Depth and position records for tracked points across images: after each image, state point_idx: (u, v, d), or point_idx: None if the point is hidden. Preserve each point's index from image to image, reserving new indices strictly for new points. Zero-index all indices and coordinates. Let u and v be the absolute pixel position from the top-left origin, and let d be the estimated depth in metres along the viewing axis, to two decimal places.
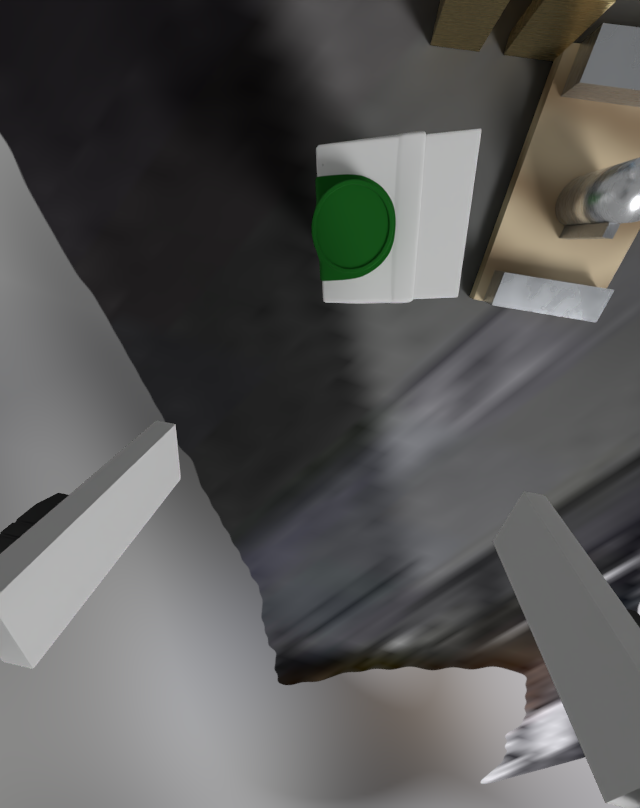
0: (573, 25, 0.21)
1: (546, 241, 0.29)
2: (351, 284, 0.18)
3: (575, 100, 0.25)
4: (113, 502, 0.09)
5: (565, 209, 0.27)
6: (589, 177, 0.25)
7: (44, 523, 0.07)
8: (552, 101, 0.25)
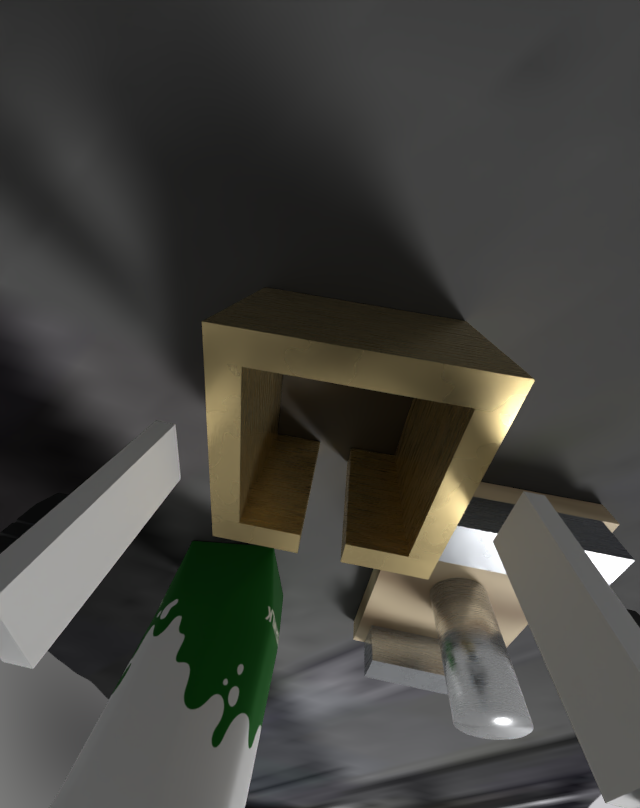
0: None
1: (425, 614, 0.25)
2: None
3: None
4: (114, 502, 0.09)
5: None
6: (450, 626, 0.20)
7: (44, 523, 0.07)
8: None
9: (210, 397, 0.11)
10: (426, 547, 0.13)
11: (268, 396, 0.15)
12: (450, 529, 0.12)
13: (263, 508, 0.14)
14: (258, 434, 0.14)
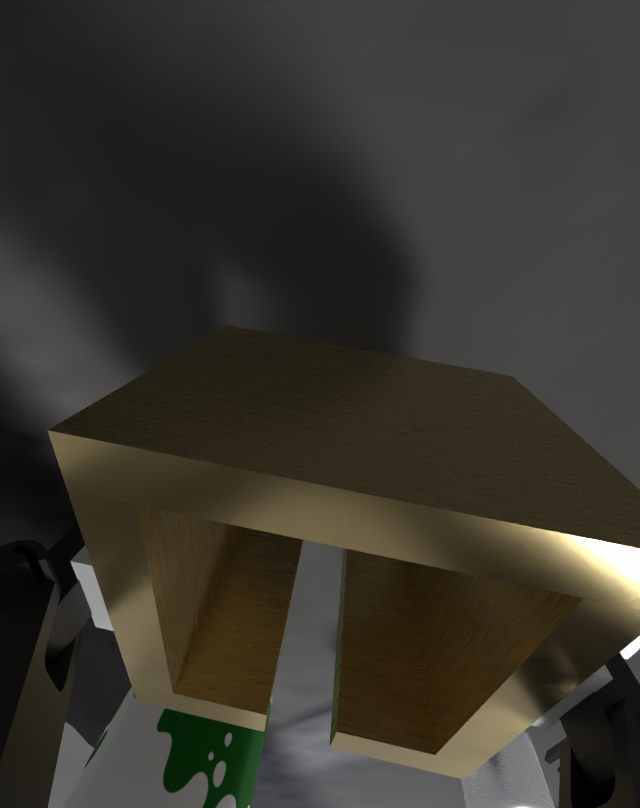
0: None
1: None
2: None
3: None
4: None
5: None
6: None
7: None
8: None
9: (92, 544, 0.06)
10: (465, 749, 0.08)
11: None
12: (508, 736, 0.07)
13: (215, 656, 0.10)
14: (207, 547, 0.09)
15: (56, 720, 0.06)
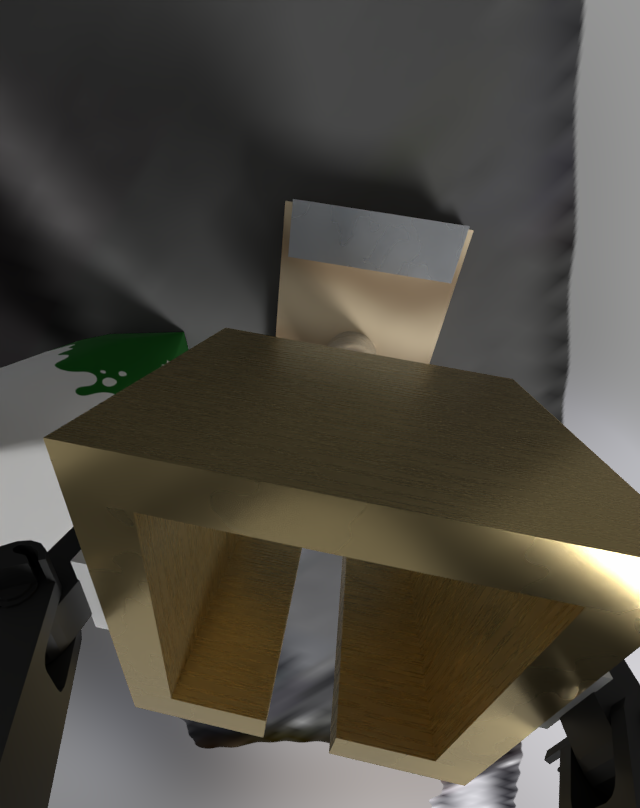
0: None
1: None
2: None
3: None
4: None
5: None
6: None
7: None
8: (288, 259, 0.21)
9: (89, 551, 0.06)
10: (466, 756, 0.08)
11: None
12: (509, 743, 0.07)
13: (214, 661, 0.10)
14: (206, 552, 0.09)
15: (56, 720, 0.06)
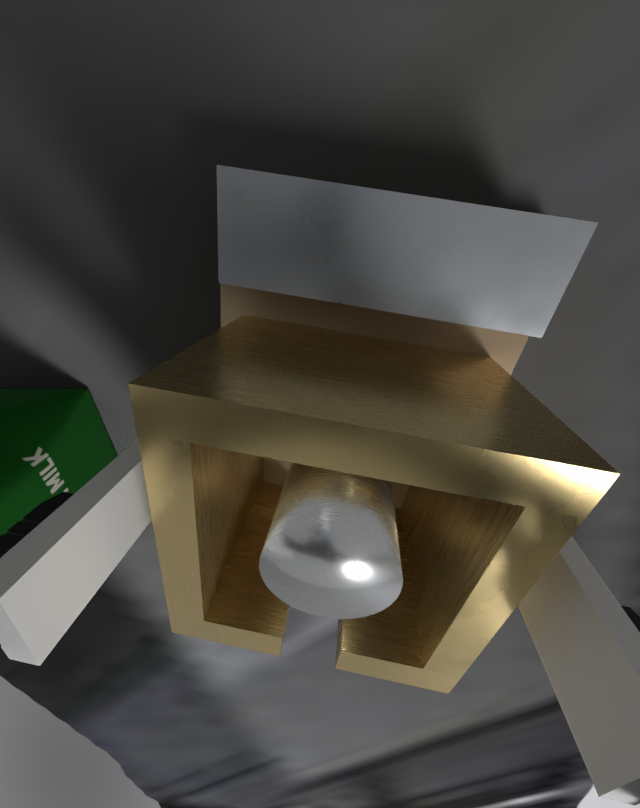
0: None
1: None
2: None
3: None
4: (118, 500, 0.09)
5: None
6: None
7: (50, 521, 0.07)
8: None
9: (151, 479, 0.08)
10: (447, 660, 0.10)
11: None
12: (480, 643, 0.09)
13: (237, 595, 0.11)
14: (230, 502, 0.11)
15: None
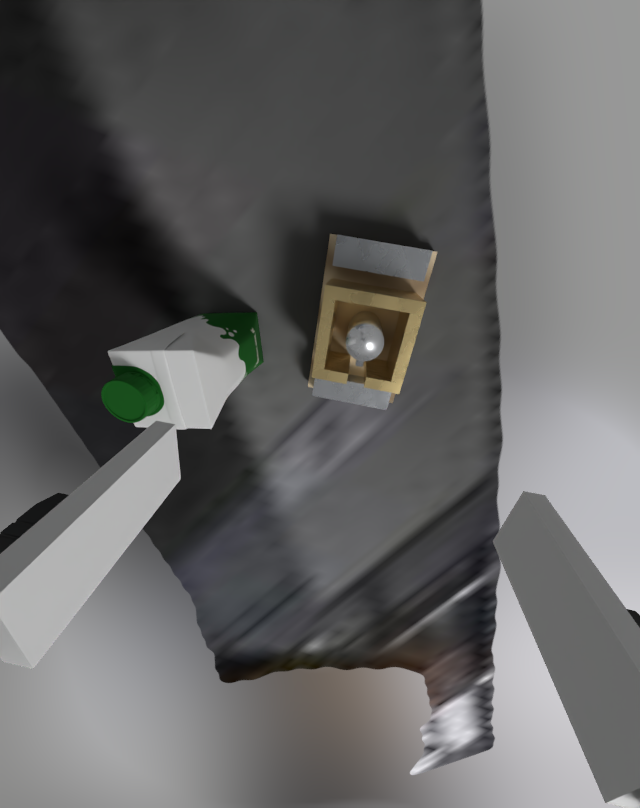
0: None
1: None
2: (147, 418, 0.29)
3: None
4: (113, 502, 0.09)
5: None
6: (352, 321, 0.36)
7: (44, 523, 0.07)
8: (329, 266, 0.36)
9: (322, 311, 0.32)
10: (397, 375, 0.34)
11: (333, 322, 0.36)
12: (405, 365, 0.33)
13: (332, 367, 0.35)
14: (330, 336, 0.35)
15: None
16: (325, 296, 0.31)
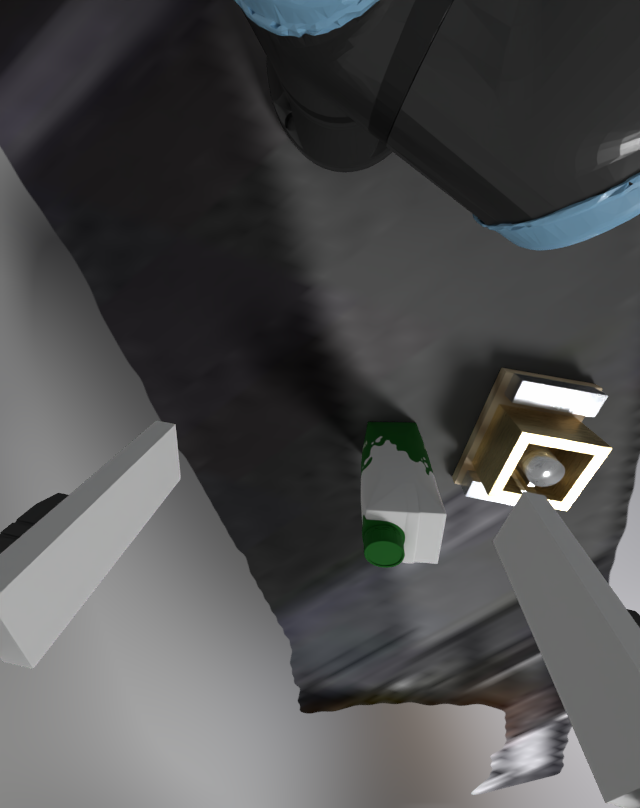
0: None
1: None
2: None
3: None
4: (113, 502, 0.09)
5: None
6: None
7: (44, 523, 0.07)
8: (499, 395, 0.41)
9: (514, 450, 0.36)
10: (569, 498, 0.39)
11: None
12: (579, 491, 0.38)
13: (504, 486, 0.40)
14: None
15: None
16: (520, 440, 0.36)
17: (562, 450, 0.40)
